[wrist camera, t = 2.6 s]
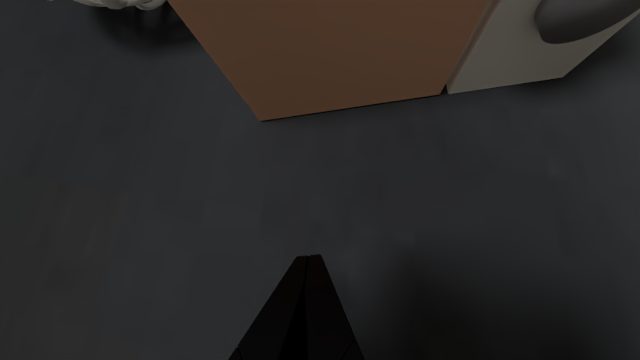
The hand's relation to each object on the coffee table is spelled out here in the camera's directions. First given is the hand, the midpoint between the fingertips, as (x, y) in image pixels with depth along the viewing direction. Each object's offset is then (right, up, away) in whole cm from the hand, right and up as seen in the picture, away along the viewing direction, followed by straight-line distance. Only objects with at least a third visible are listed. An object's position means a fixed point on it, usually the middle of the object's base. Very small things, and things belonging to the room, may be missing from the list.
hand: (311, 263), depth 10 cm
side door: (+2, +9, +14) cm, 17 cm away
